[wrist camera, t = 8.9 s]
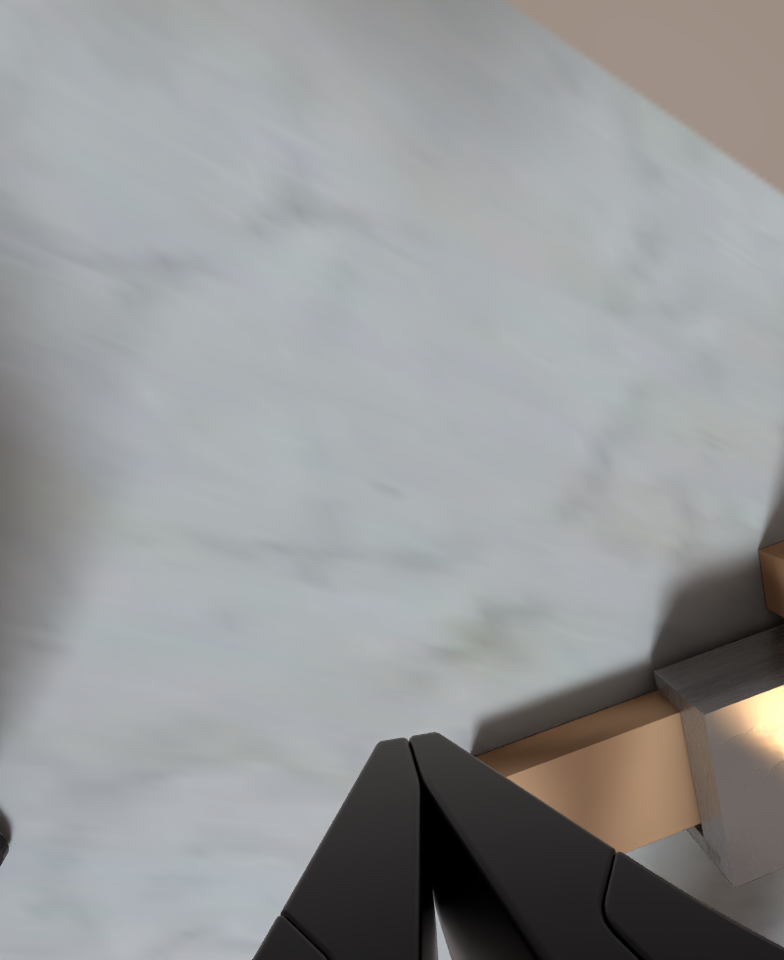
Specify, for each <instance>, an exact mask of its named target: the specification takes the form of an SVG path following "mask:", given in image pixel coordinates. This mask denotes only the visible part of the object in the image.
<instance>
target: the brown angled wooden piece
mask: <svg viewBox="0 0 784 960" xmlns="http://www.w3.org/2000/svg"><path fill="white" fill-rule="evenodd" d="M759 557H760V564H761V571H762V578H763V585H764V592H765V599H766V606H767V609H769V610H771V611H773V612H775V613H776V614H778V615H780V616H782V617H784V541H783V542H780V543H777V544H774V545H771V546H768V547H765V548H762V549H760V550H759ZM476 758H477V759H479V760H481V761H482V762H484V763H485V764H487V765H488V766H490V767H491V768H493V769H494V770H496V771H497V772H499V773H500V774H502V775H503V776H505V777H506V778H508V779H509V780H511V781H512V782H514V783H515V784H517V785H518V786H520V787H522V788H523V789H525V790H526V791H528V792H529V793H531V794H532V795H534V796H535V797H537V798H538V799H540V800H541V801H543V802H544V803H546V804H547V805H549V806H550V807H552V808H553V809H555V810H556V811H558V812H560V813H561V814H563V815H564V816H566V817H567V818H569V819H570V820H572V821H573V822H575V823H576V824H578V825H579V826H581V827H582V828H584V829H585V830H587V831H588V832H590V833H591V834H593V835H594V836H596V837H597V838H599V839H601V840H602V841H604V842H605V843H607V844H608V845H610V846H611V847H613V848H614V849H615V850H616V853H617V852H622V853H627V852H629V851H632V850H634V849H637V848H639V847H642V846H644V845H647V844H650V843H652V842H655V841H657V840H660V839H662V838H665V837H667V836H670V835H672V834H675V833H677V832H680V831H683V830H685V829H688V828H690V827H693V826H695V825H698V824H700V823H701V819H700V814H699V809H698V803H697V798H696V793H695V788H694V782H693V777H692V772H691V766H690V761H689V756H688V750H687V745H686V740H685V735H684V729H683V724H682V719H681V713H680V710H679V709H678V708H677V707H676V706H675V705H674V704H673V703H671V702H670V701H669V700H668V699H667V698H666V697H665V696H664V695H663V694H661V693H660V692H659V691H658V690H656V691H653V692H651V693H648V694H645V695H642V696H640V697H637V698H634V699H631V700H629V701H626V702H623V703H621V704H618V705H615V706H612V707H610V708H607V709H604V710H601V711H599V712H596V713H593V714H591V715H588V716H585V717H582V718H580V719H577V720H574V721H572V722H569V723H566V724H563V725H561V726H558V727H555V728H552V729H550V730H547V731H544V732H542V733H539V734H536V735H533V736H531V737H528V738H525V739H522V740H520V741H517V742H514V743H512V744H509V745H506V746H503V747H501V748H498V749H495V750H492V751H490V752H487V753H484V754H482V755H479V756H476Z"/></svg>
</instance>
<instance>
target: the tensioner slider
mask: <svg viewBox="0 0 784 960" xmlns="http://www.w3.org/2000/svg"><path fill="white" fill-rule="evenodd" d="M654 677H655V682H656V687H657V690H658V691H659V692H660V693H661V694H663V695H664V696H665V697H666V698H667V699H668V700H669V701H670V702H671V703H673V704H674V705H675V706H676V707H677V708H678V709H679V710H680V713H681V719H682V724H683V729H684V735H685V740H686V745H687V750H688V756H689V761H690V766H691V772H692V777H693V782H694V788H695V793H696V798H697V803H698V809H699V814H700V819H701V823H700V824H698V825H695V826H693V827H690V828H688V829H686V830H687V831H688V833H689V834H690V835H691V836H692V837H693V838H694V840H695V841H696V842H697V843H698V844H699V846H700V847H701V848H702V849H703V850H704V852H705V853H706V854H707V855H708V856H709V858H710V859H711V860H712V861H713V862H714V863H715V865H716V866H717V867H718V868H719V869H720V871H721V872H722V873H723V874H724V875H725V877H726V878H727V879H728V880H729V881H730V882H731V884H732V885H733V886H734V887H738V886H740V885H743V884H745V883H748V882H750V881H753V880H755V879H757V878H760V877H762V876H765V875H767V874H770V873H772V872H775V871H777V870H780V869H782V868H784V624H782V625H779V626H777V627H774V628H771V629H768V630H766V631H763V632H760V633H757V634H755V635H752V636H749V637H746V638H744V639H741V640H738V641H735V642H733V643H730V644H727V645H724V646H722V647H719V648H716V649H713V650H711V651H708V652H705V653H702V654H700V655H697V656H694V657H691V658H689V659H686V660H683V661H680V662H678V663H675V664H672V665H669V666H667V667H664V668H661V669H658V670H656V671H654Z"/></svg>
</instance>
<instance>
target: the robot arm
mask: <svg viewBox="0 0 784 960" xmlns="http://www.w3.org/2000/svg"><path fill="white" fill-rule="evenodd" d="M8 852H9V846H8V844H7V842H6V840H5V839H4V838H3V837H2V836H1V834H0V866H1V864H2V862H3V861H4V859H5V857H6V855H7V853H8ZM433 897H434V899H433ZM434 901H435V906H436V910H437V914H438V917H439V921H440V924H441V928H442V931H443V934H444V937H445V940H446V943H447V946H448V949H449V953H450V956H451V959H452V960H784V947H782V946H780V945H778V944H776V943H774V942H772V941H771V940H769V939H767V938H765V937H763V936H761V935H759V934H758V933H756V932H754V931H752V930H750V929H748V928H747V927H745V926H743V925H741V924H740V923H738V922H736V921H734V920H732V919H731V918H729V917H727V916H725V915H724V914H722V913H720V912H718V911H716V910H715V909H713V908H711V907H709V906H708V905H706V904H704V903H702V902H700V901H699V900H697V899H695V898H693V897H692V896H690V895H689V894H687V893H685V892H684V891H682V890H681V889H679V888H677V887H676V886H674V885H672V884H671V883H669V882H668V881H666V880H664V879H663V878H661V877H660V876H658V875H656V874H655V873H653V872H652V871H650V870H648V869H647V868H645V867H644V866H642V865H641V864H639V863H638V862H636V861H635V860H633V859H632V858H630V857H628V856H627V855H625V854H624V853H622V852H617V853H616V850H615V849H614V848H613V847H611V846H610V845H608V844H607V843H605V842H604V841H602V840H601V839H599V838H597V837H596V836H594V835H593V834H591V833H590V832H588V831H587V830H585V829H584V828H582V827H581V826H579V825H578V824H576V823H575V822H573V821H572V820H570V819H569V818H567V817H566V816H564V815H563V814H561V813H560V812H558V811H556V810H555V809H553V808H552V807H550V806H549V805H547V804H546V803H544V802H543V801H541V800H540V799H538V798H537V797H535V796H534V795H532V794H531V793H529V792H528V791H526V790H525V789H523V788H522V787H520V786H518V785H517V784H515V783H514V782H512V781H511V780H509V779H508V778H506V777H505V776H503V775H502V774H500V773H499V772H497V771H496V770H494V769H493V768H491V767H490V766H488V765H487V764H485V763H484V762H482V761H481V760H479V759H477V758H476V757H474V756H473V755H471V754H470V753H468V752H467V751H465V750H464V749H462V748H461V747H459V746H458V745H456V744H455V743H453V742H452V741H450V740H449V739H447V738H446V737H444V736H443V735H441V734H439V733H436V732H433V733H427V734H421V735H415V736H412V737H411V738H410V739H409V742H408V740H407V739H406V738H397V739H391V740H385V741H380V742H379V743H378V744H377V745H376V747H375V749H374V750H373V752H372V754H371V756H370V757H369V759H368V761H367V763H366V764H365V766H364V768H363V770H362V771H361V773H360V775H359V777H358V778H357V780H356V782H355V784H354V786H353V787H352V789H351V791H350V793H349V794H348V796H347V798H346V800H345V801H344V803H343V805H342V807H341V808H340V810H339V812H338V814H337V815H336V817H335V819H334V821H333V822H332V824H331V826H330V828H329V829H328V831H327V833H326V835H325V836H324V838H323V840H322V842H321V843H320V845H319V847H318V849H317V850H316V852H315V854H314V856H313V857H312V859H311V861H310V863H309V864H308V866H307V868H306V870H305V871H304V873H303V875H302V877H301V878H300V880H299V882H298V884H297V885H296V887H295V889H294V891H293V892H292V894H291V896H290V898H289V899H288V901H287V903H286V905H285V906H284V908H283V910H282V912H281V915H280V916H278V917H277V918H276V920H275V922H274V924H273V925H272V927H271V929H270V931H269V932H268V934H267V936H266V938H265V939H264V941H263V943H262V945H261V946H260V948H259V949H258V951H257V953H256V954H255V956H254V958H253V959H252V960H438V947H437V930H436V919H435V908H434Z"/></svg>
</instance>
